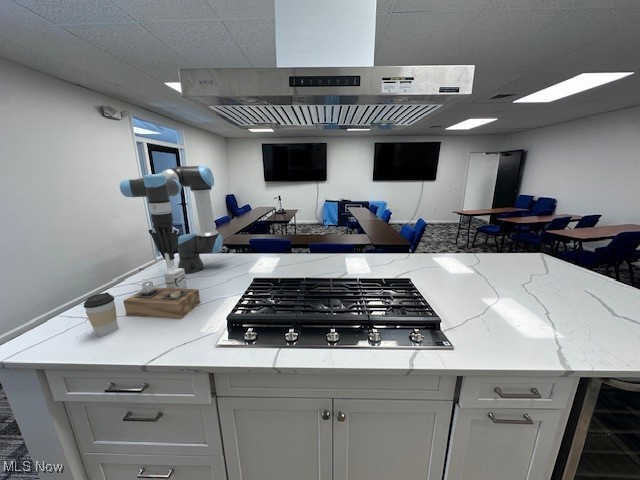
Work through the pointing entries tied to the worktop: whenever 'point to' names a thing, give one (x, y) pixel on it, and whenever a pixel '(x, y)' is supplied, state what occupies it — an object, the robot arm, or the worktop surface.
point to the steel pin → (148, 288)
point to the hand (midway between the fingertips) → (170, 266)
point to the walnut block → (162, 303)
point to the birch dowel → (175, 294)
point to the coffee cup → (101, 313)
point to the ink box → (176, 278)
